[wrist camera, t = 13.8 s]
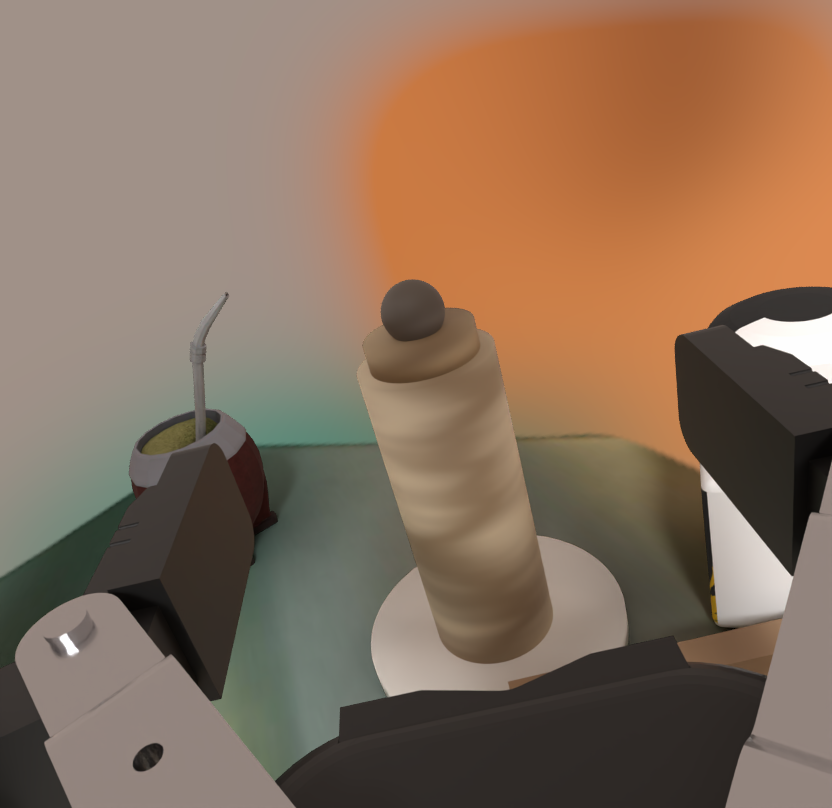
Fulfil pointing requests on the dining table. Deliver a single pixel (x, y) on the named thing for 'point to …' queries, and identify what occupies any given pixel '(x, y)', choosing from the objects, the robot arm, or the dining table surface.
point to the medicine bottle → (724, 525)
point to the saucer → (564, 643)
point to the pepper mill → (456, 474)
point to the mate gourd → (205, 440)
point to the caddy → (724, 649)
